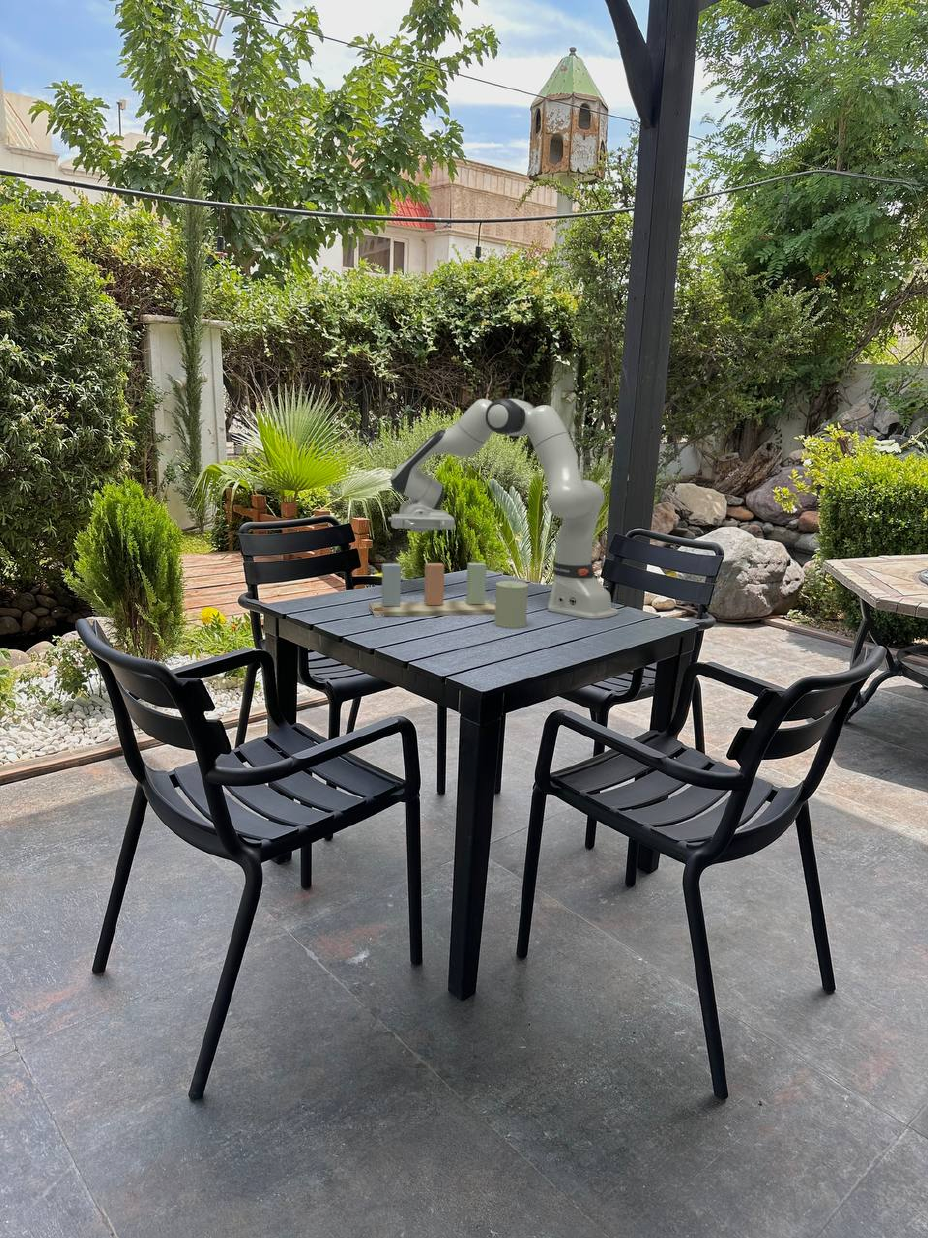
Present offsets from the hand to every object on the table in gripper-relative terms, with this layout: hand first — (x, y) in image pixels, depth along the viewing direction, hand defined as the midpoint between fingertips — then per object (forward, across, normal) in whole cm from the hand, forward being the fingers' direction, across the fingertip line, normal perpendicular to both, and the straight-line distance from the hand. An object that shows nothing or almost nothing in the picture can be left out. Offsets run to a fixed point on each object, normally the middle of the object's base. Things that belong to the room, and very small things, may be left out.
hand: (427, 526), depth 246 cm
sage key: (+14, +13, +21) cm, 28 cm away
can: (+34, +18, +21) cm, 44 cm away
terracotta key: (+14, 0, +21) cm, 25 cm away
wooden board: (+16, 0, +23) cm, 28 cm away
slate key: (+14, -12, +21) cm, 28 cm away
